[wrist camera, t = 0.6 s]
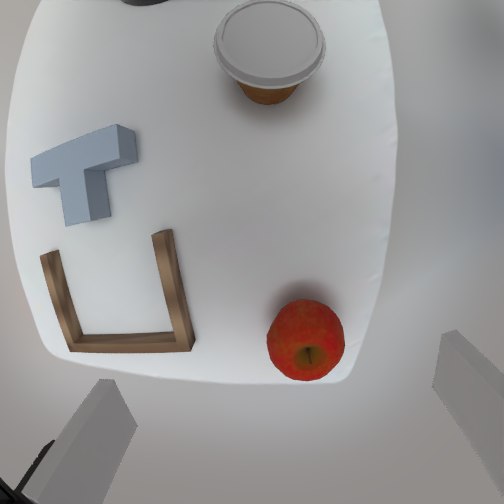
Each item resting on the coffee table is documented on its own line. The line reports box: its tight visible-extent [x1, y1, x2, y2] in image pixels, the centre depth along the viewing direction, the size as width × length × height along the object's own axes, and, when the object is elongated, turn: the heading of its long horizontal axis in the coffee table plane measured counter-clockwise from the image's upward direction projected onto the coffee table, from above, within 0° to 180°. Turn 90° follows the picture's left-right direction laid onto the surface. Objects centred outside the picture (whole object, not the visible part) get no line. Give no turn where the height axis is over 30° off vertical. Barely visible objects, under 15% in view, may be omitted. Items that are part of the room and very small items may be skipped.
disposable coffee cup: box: [213, 0, 326, 105], centre depth 25 cm, size 10×10×12 cm
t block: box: [30, 124, 138, 227], centre depth 31 cm, size 10×14×5 cm
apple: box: [267, 300, 345, 381], centre depth 31 cm, size 9×8×11 cm
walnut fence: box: [40, 229, 195, 353], centre depth 36 cm, size 15×20×3 cm
